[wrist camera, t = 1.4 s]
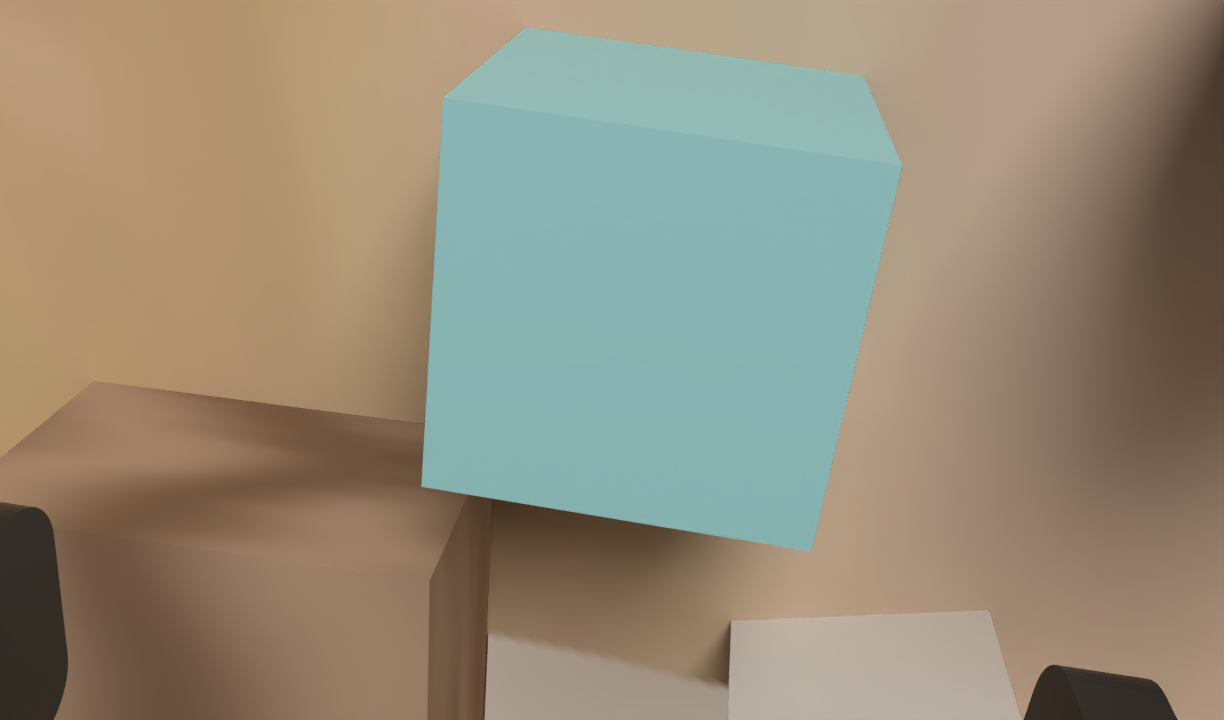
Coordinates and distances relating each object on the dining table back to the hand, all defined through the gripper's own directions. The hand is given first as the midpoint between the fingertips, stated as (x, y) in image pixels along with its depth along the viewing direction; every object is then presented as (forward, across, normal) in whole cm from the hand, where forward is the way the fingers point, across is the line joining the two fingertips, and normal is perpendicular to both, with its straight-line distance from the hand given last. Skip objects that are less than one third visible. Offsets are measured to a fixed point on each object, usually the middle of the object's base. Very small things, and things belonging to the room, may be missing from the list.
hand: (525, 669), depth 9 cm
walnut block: (+12, +6, +9) cm, 16 cm away
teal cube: (+12, 0, 0) cm, 12 cm away
